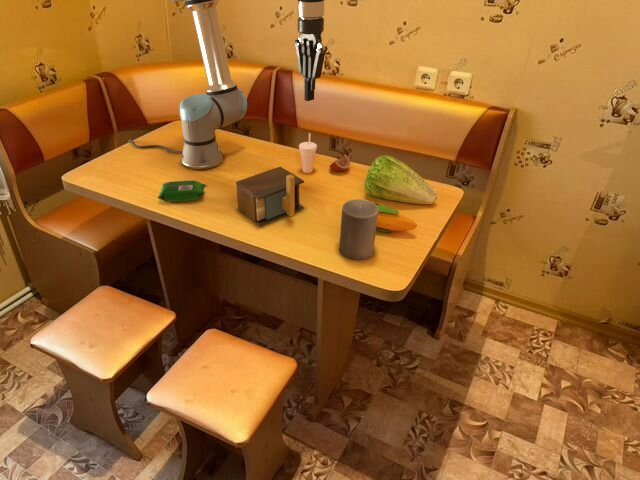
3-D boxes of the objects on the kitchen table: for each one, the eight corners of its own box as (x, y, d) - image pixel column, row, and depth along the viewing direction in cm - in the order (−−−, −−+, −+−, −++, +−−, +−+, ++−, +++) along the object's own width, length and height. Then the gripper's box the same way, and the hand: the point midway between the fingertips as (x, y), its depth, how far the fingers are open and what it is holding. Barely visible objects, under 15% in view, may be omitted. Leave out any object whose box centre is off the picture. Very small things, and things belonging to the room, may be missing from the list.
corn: (355, 194, 149) (422, 206, 143) (353, 215, 154) (418, 228, 148) (347, 207, 144) (416, 221, 138) (346, 228, 149) (413, 242, 143)
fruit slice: (337, 163, 183) (338, 151, 180) (353, 168, 180) (354, 155, 177) (325, 172, 178) (326, 159, 175) (342, 177, 175) (342, 164, 171)
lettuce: (434, 204, 147) (450, 166, 151) (361, 178, 153) (378, 141, 156) (425, 224, 160) (440, 188, 164) (358, 200, 166) (375, 165, 170)
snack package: (206, 202, 162) (204, 188, 159) (158, 204, 161) (155, 190, 158) (207, 192, 168) (206, 178, 165) (161, 194, 167) (158, 180, 164)
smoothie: (316, 174, 176) (317, 137, 168) (298, 174, 177) (298, 137, 168) (316, 166, 181) (317, 129, 173) (298, 166, 182) (298, 129, 173)
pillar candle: (335, 256, 138) (338, 209, 128) (344, 237, 145) (347, 192, 136) (369, 263, 135) (375, 216, 126) (377, 243, 142) (382, 197, 133)
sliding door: (265, 218, 152) (263, 177, 143) (286, 210, 155) (286, 169, 147) (274, 225, 148) (273, 184, 140) (296, 216, 152) (296, 175, 144)
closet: (238, 209, 158) (235, 181, 152) (280, 193, 166) (280, 166, 160) (259, 226, 150) (258, 197, 144) (303, 208, 158) (304, 180, 152)
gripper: (336, 18, 138) (332, 102, 153) (306, 11, 147) (305, 92, 161) (315, 22, 135) (313, 108, 149) (286, 15, 143) (287, 96, 158)
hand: (309, 99), depth 155 cm, fingers closed
